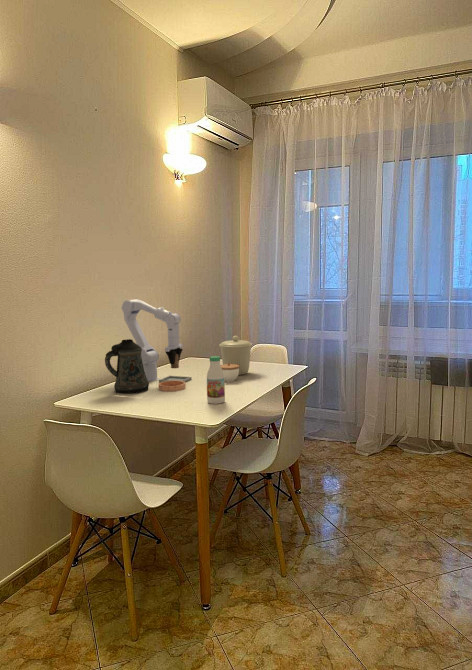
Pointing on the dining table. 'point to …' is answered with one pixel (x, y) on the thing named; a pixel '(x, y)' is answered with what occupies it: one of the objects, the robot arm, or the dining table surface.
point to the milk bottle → (215, 382)
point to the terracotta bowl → (171, 385)
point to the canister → (236, 353)
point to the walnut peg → (176, 362)
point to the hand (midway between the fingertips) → (174, 363)
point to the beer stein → (128, 368)
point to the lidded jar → (230, 372)
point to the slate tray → (175, 379)
